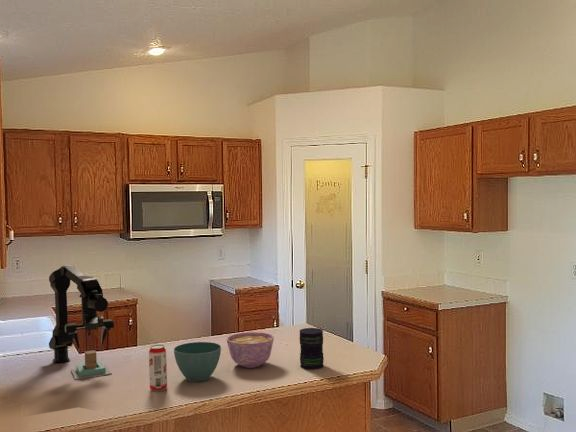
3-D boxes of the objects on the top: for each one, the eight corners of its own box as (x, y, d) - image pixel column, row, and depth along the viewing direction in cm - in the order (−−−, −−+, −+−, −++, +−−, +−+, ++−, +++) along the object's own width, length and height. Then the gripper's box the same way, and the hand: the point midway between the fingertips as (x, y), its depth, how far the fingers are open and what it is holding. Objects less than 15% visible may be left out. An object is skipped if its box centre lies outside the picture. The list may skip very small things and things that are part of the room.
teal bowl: (200, 368, 239) (199, 339, 239) (231, 376, 227) (230, 345, 227) (165, 380, 225) (164, 348, 225) (196, 389, 213) (195, 356, 213)
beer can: (150, 392, 210) (148, 349, 210) (149, 387, 216) (148, 345, 216) (167, 391, 212) (166, 347, 211) (166, 385, 218) (165, 343, 217)
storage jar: (321, 370, 233) (321, 333, 233) (298, 369, 235) (297, 333, 235) (325, 363, 243) (324, 328, 242) (302, 362, 245) (301, 327, 244)
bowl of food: (217, 368, 239) (217, 340, 238) (243, 356, 256) (242, 330, 256) (259, 374, 229) (258, 345, 229) (283, 361, 247) (282, 334, 247)
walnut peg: (85, 370, 237) (84, 351, 237) (95, 369, 239) (94, 350, 239) (86, 373, 234) (85, 353, 234) (96, 371, 236) (96, 352, 235)
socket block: (70, 370, 240) (70, 364, 240) (105, 365, 246) (105, 359, 246) (75, 380, 227) (74, 373, 227) (111, 374, 234) (111, 368, 233)
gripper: (67, 314, 224) (68, 354, 225) (116, 309, 233) (117, 348, 233) (63, 310, 234) (65, 348, 235) (111, 305, 243) (112, 342, 243)
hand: (90, 346), depth 236 cm, fingers open, 9 cm apart
